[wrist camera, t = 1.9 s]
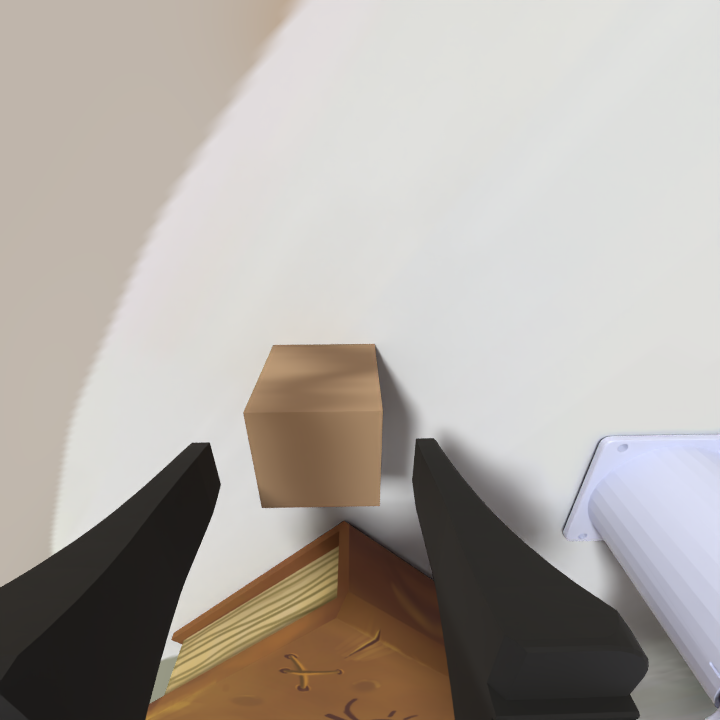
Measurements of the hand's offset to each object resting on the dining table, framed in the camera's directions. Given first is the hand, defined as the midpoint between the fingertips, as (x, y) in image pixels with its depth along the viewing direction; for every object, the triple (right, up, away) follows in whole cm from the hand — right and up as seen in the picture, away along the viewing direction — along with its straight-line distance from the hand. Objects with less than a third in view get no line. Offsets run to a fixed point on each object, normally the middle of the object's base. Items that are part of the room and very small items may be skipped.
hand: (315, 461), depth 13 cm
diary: (+2, -18, +16) cm, 25 cm away
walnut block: (0, +2, +4) cm, 5 cm away
